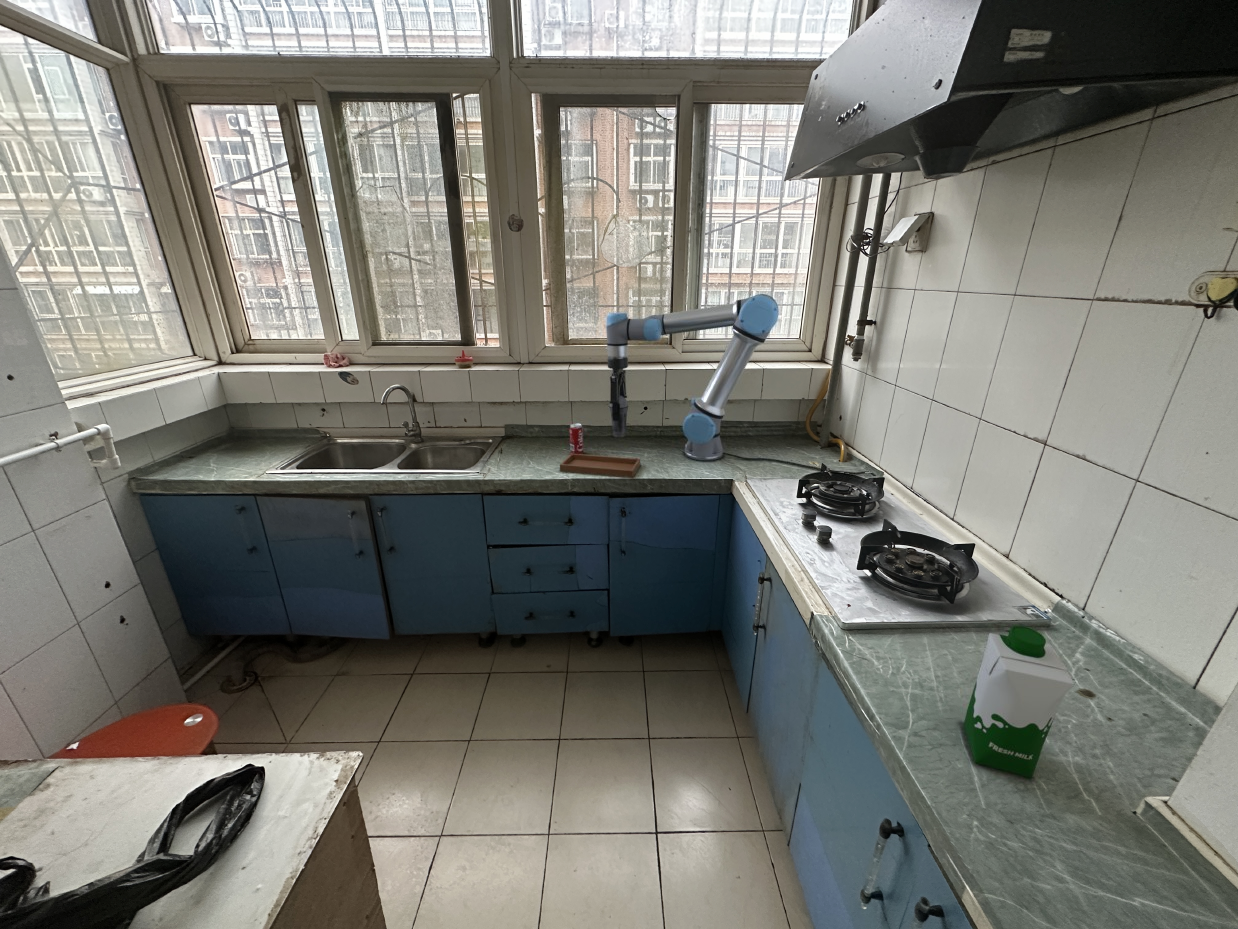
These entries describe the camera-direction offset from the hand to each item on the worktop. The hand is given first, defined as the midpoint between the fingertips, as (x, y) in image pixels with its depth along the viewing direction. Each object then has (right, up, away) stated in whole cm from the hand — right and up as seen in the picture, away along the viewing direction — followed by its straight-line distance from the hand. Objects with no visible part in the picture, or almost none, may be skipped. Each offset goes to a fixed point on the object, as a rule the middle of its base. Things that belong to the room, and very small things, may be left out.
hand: (619, 417), depth 190 cm
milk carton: (+57, -62, -114) cm, 142 cm away
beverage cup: (0, -7, +3) cm, 7 cm away
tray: (-7, -19, -3) cm, 21 cm away
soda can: (-17, -14, +12) cm, 25 cm away
